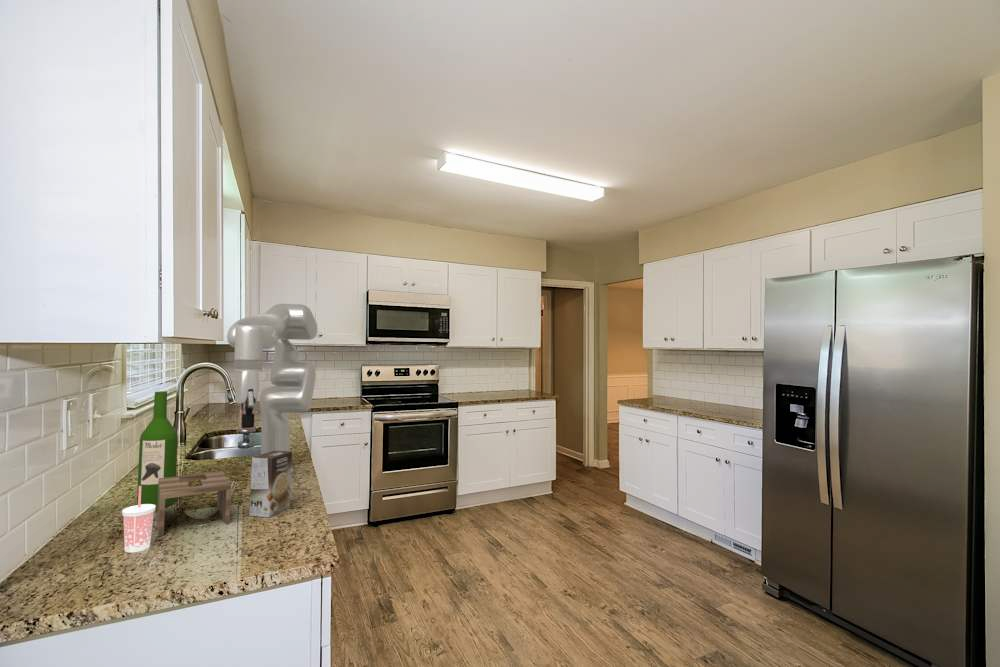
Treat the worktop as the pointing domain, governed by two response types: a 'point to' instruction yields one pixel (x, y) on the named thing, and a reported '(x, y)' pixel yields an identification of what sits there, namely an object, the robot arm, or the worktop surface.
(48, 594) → the worktop surface
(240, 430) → the keyhole pin
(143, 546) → the beverage cup
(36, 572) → the worktop surface
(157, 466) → the wine bottle
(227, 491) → the keyhole plate
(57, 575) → the worktop surface
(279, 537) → the worktop surface
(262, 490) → the coffee box
